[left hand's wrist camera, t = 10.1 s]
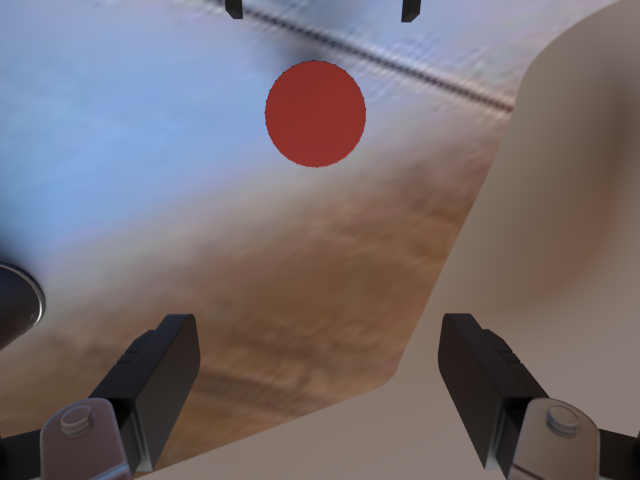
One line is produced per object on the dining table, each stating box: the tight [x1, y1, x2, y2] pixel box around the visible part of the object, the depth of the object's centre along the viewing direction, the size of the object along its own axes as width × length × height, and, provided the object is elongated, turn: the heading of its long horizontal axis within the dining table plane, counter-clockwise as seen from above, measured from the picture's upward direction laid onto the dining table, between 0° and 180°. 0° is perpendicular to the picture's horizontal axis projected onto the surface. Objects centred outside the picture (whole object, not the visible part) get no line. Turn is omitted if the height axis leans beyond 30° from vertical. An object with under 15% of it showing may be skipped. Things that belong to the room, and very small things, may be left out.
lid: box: [265, 60, 366, 168], centre depth 19 cm, size 5×5×2 cm
